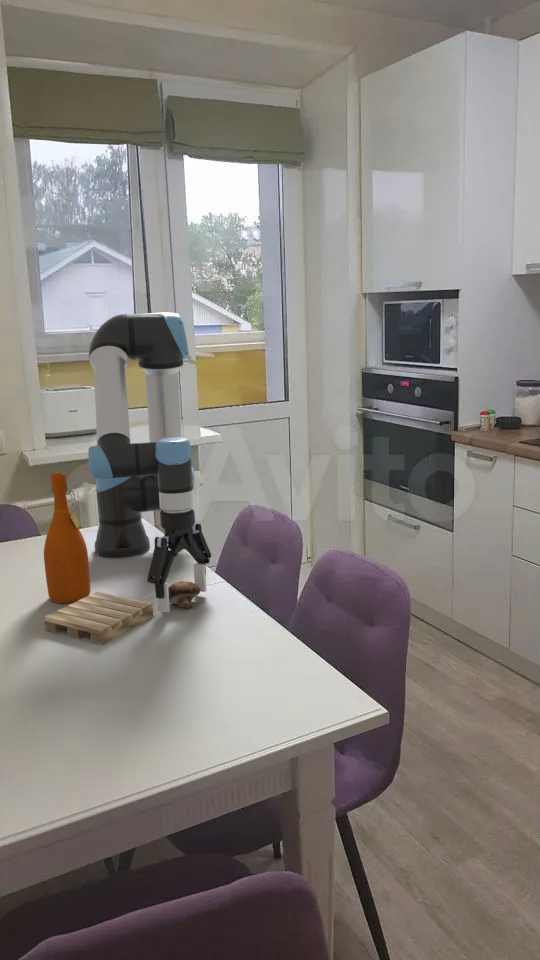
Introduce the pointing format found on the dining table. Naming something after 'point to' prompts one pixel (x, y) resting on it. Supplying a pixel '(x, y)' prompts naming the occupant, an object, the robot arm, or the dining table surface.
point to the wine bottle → (65, 550)
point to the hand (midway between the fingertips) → (182, 600)
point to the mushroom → (183, 593)
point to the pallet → (99, 617)
